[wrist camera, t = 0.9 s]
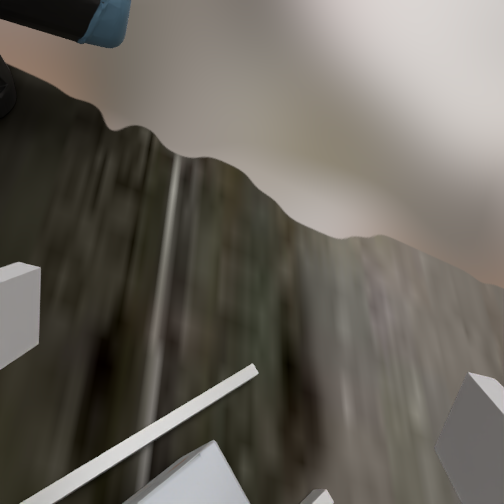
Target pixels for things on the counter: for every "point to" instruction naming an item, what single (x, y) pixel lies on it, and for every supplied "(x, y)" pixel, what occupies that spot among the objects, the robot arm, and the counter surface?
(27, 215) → the counter surface
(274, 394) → the counter surface
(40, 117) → the counter surface
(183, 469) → the small box
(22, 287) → the robot arm
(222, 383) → the guide channel
